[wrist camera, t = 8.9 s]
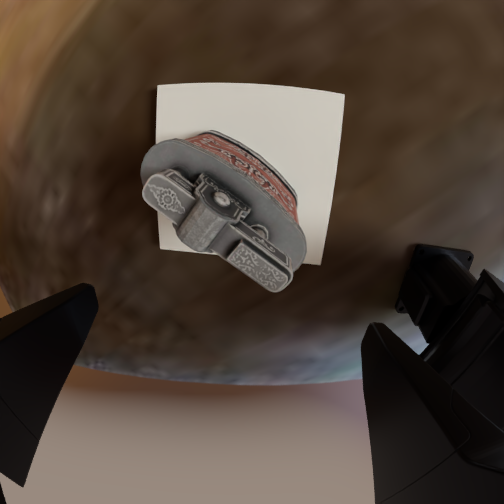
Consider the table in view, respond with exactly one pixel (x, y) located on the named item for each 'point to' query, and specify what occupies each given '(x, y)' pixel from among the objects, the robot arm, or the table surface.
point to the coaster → (264, 141)
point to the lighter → (227, 204)
